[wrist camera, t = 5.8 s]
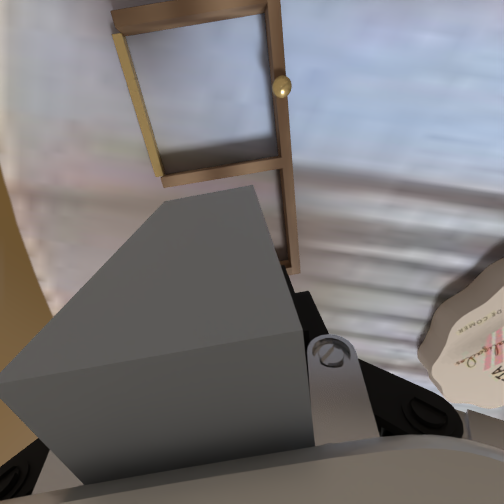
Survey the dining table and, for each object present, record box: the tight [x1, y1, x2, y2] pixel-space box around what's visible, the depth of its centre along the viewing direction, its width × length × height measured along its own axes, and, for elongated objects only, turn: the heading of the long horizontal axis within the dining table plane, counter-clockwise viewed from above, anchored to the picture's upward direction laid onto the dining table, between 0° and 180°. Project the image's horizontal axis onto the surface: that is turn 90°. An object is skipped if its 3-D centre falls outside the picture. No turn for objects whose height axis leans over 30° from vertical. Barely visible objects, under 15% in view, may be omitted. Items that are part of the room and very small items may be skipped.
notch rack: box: [111, 0, 300, 275], centre depth 26 cm, size 14×26×3 cm, turn 8°
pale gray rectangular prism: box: [0, 185, 315, 485], centre depth 9 cm, size 4×9×9 cm, turn 10°
